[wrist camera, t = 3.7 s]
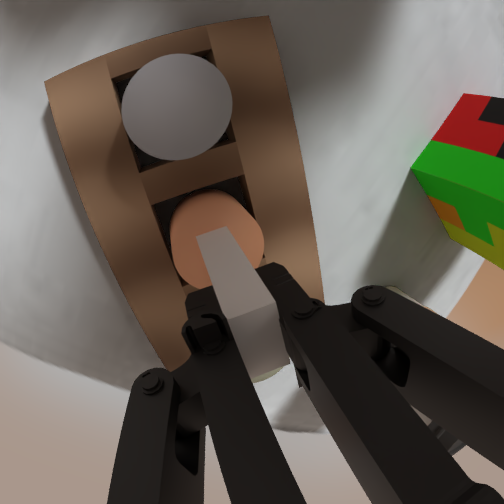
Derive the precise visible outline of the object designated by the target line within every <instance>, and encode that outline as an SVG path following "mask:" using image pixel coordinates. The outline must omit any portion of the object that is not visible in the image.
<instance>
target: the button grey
mask: <svg viewBox="0 0 504 504" xmlns="http://www.w3.org/2000/svg"><path fill="white" fill-rule="evenodd" d="M121 111H122V120H123V124H124V127H125V129H126V132H127V134H128V135H129V137H130V138H131V140H132V141H133V142H134V143H135V144H136V145H137V146H138V147H139V148H140V149H141V150H143V151H144V152H146V153H147V154H149V155H151V156H154V157H156V158H160V159H164V160H183V159H188V158H192V157H195V156H197V155H199V154H201V153H203V152H205V151H206V150H208V149H209V148H211V147H212V146H213V145H214V144H215V143H216V142H217V141H218V140H219V139H220V138H221V136H222V135H223V133H224V132H225V130H226V128H227V126H228V124H229V121H230V118H231V114H232V95H231V90H230V87H229V85H228V83H227V81H226V79H225V77H224V76H223V74H222V73H221V72H220V71H219V70H218V68H216V67H215V66H214V65H213V64H212V63H210V62H208V61H207V60H205V59H203V58H200V57H198V56H194V55H190V54H170V55H165V56H162V57H159V58H156V59H154V60H152V61H150V62H149V63H147V64H146V65H144V66H143V67H142V68H141V69H140V70H139V71H138V72H137V73H136V74H135V75H134V76H133V77H132V79H131V80H130V82H129V84H128V86H127V88H126V90H125V93H124V95H123V100H122V109H121Z"/></svg>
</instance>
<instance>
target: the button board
mask: <svg viewBox="0 0 504 504" xmlns="http://www.w3.org/2000/svg"><path fill="white" fill-rule="evenodd" d="M170 54H190V55H194V56H198V57H203V56H206V57H207V61H208V62H210V63H212V64H213V65H214V66H215V67H216V68H218V70H219V71H220V72H221V73H222V74H223V76H224V77H225V79H226V81H227V83H228V85H229V87H230V90H231V95H232V114H231V118H230V121H229V124H228V126H227V128H226V133H227V137H228V140H224V141H221V142H217V143H215V144H214V145H213V146H212V147H211V148H209V149H208V150H206V151H205V152H203V153H201V154H199V155H197V156H195V157H192V158H188V159H183V160H161V161H158V162H155V163H152V164H149V165H147V166H144V167H141V165H140V162H139V159H138V156H137V153H136V150H135V146H134V143H133V141H132V140H131V138H130V137H129V135H128V134H127V132H126V129H125V127H124V124H123V120H122V111H121V109H122V103H121V99H120V96H119V92H118V89H117V85H116V83H117V82H120V81H123V80H125V79H128V78H131V77H133V76H134V75H135V74H136V73H137V72H138V71H139V70H140V69H141V68H142V67H143V66H144V65H146V64H147V63H149V62H150V61H152V60H154V59H156V58H159V57H162V56H165V55H170ZM44 83H45V87H46V91H47V95H48V99H49V103H50V107H51V110H52V114H53V118H54V121H55V125H56V128H57V131H58V135H59V138H60V141H61V144H62V147H63V150H64V153H65V156H66V159H67V162H68V165H69V168H70V171H71V174H72V177H73V179H74V182H75V185H76V187H77V190H78V193H79V195H80V198H81V200H82V203H83V205H84V208H85V210H86V213H87V215H88V218H89V220H90V223H91V225H92V227H93V230H94V232H95V234H96V237H97V239H98V241H99V243H100V246H101V248H102V250H103V252H104V254H105V256H106V259H107V261H108V263H109V265H110V267H111V269H112V271H113V273H114V275H115V277H116V279H117V281H118V283H119V285H120V287H121V289H122V291H123V293H124V295H125V297H126V299H127V301H128V303H129V305H130V307H131V309H132V310H133V312H134V314H135V316H136V318H137V320H138V321H139V323H140V325H141V327H142V329H143V330H144V332H145V334H146V336H147V337H148V339H149V341H150V343H151V344H152V346H153V348H154V349H155V351H156V353H157V354H158V356H159V358H160V359H161V361H162V363H163V364H164V366H165V367H166V369H167V370H168V371H170V372H172V371H173V370H175V369H177V368H178V367H180V366H181V365H182V364H184V363H185V362H186V361H187V360H188V359H189V357H190V356H191V352H190V350H189V348H188V346H187V344H186V342H185V340H184V338H183V336H182V334H181V331H182V327H183V325H184V324H185V322H186V321H187V320H188V317H187V312H186V307H185V300H186V298H187V295H188V293H191V292H194V291H197V290H200V289H198V288H196V287H194V286H192V285H190V284H189V283H188V282H186V281H185V280H184V279H183V278H182V277H181V276H180V274H179V273H178V271H177V269H176V267H175V264H174V261H173V255H172V252H171V249H170V246H169V244H168V241H167V239H166V236H165V233H164V231H163V228H162V225H161V222H160V220H159V217H158V214H157V211H156V209H155V206H154V204H156V203H159V202H161V201H164V200H167V199H170V198H173V197H176V196H178V195H181V194H184V193H187V192H190V191H193V190H196V189H199V188H202V187H205V186H208V185H211V184H215V183H218V182H221V181H224V180H227V179H230V178H234V177H237V176H238V179H239V183H240V187H241V191H242V194H243V198H244V202H245V206H246V210H247V212H248V213H249V214H250V215H251V216H252V217H253V218H254V219H255V220H256V222H257V223H258V225H259V226H260V228H261V230H262V234H263V238H264V253H263V257H262V260H261V262H260V264H259V266H258V267H261V266H264V265H266V264H269V263H272V262H275V263H278V264H280V265H283V266H284V267H285V268H286V269H287V271H288V272H289V274H291V275H292V277H293V278H294V279H295V280H296V281H297V283H298V284H299V285H300V286H301V287H302V289H303V290H304V291H305V292H306V293H307V295H308V296H309V297H310V298H315V299H319V300H320V301H322V302H323V303H324V304H325V302H324V294H323V286H322V278H321V271H320V264H319V256H318V250H317V243H316V236H315V230H314V223H313V217H312V211H311V205H310V199H309V193H308V188H307V182H306V177H305V171H304V166H303V161H302V155H301V150H300V145H299V140H298V135H297V130H296V126H295V121H294V116H293V112H292V107H291V103H290V98H289V94H288V89H287V85H286V81H285V77H284V72H283V68H282V64H281V60H280V56H279V52H278V48H277V45H276V41H275V37H274V33H273V29H272V26H271V22H270V19H269V16H260V17H251V18H244V19H237V20H231V21H225V22H219V23H214V24H209V25H204V26H199V27H194V28H190V29H186V30H182V31H177V32H174V33H170V34H166V35H162V36H159V37H155V38H152V39H149V40H145V41H142V42H139V43H136V44H133V45H130V46H127V47H124V48H121V49H118V50H115V51H113V52H110V53H107V54H105V55H102V56H100V57H97V58H95V59H92V60H90V61H87V62H85V63H83V64H80V65H78V66H76V67H74V68H71V69H69V70H67V71H65V72H63V73H61V74H59V75H57V76H54V77H52V78H50V79H48V80H47V81H45V82H44Z"/></svg>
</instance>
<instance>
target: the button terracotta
mask: <svg viewBox="0 0 504 504" xmlns="http://www.w3.org/2000/svg"><path fill="white" fill-rule="evenodd" d="M225 226H227V228H228V229H229V231H230V232H231V234H232V235H233V237H234V238H235V240H236V241H237V243H238V245H239V246H240V248H241V249H242V251H243V252H244V254H245V255H246V257H247V258H248V260H249V261H250V263H251V265H252V266H253V268H254V269H255V268H258V266H259V264H260V262H261V260H262V257H263V253H264V238H263V234H262V230H261V228H260V226H259V225H258V223H257V222H256V220H255V219H254V218H253V217H252V216H251V215H250V214H249V213H248V212H247V211H246V210H245V209H244V207H243V206H242V205H241V204H240V203H239V202H238V201H237V200H236V199H235V198H234V197H233V196H231V195H230V194H228V193H226V192H224V191H221V190H216V189H204V190H199V191H196V192H194V193H191V194H190V195H188V196H186V197H185V198H184V199H183V200H182V201H181V202H180V203H179V204H178V205H177V206H176V208H175V210H174V211H173V214H172V216H171V219H170V226H169V229H170V239H171V247H172V255H173V261H174V264H175V267H176V269H177V271H178V273H179V274H180V276H181V277H182V278H183V279H184V280H185V281H186V282H188V283H189V284H190V285H192V286H194V287H196V288H198V289H202V288H205V287H208V286H211V285H212V282H211V279H210V276H209V274H208V271H207V268H206V265H205V262H204V259H203V257H202V254H201V251H200V248H199V245H198V242H197V239H196V236H198V235H201V234H204V233H207V232H210V231H213V230H216V229H219V228H222V227H225Z"/></svg>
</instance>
